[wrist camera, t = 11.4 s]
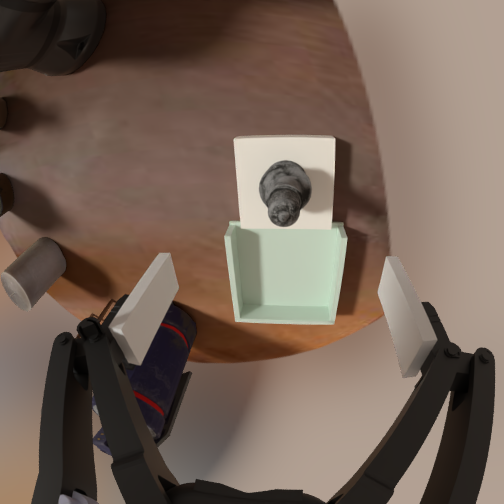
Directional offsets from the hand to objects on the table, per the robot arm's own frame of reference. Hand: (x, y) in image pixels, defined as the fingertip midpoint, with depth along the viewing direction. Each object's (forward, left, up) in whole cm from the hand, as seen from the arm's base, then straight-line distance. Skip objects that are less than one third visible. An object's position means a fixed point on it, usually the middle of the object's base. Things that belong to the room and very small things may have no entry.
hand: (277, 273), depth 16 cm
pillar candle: (+14, -50, -22) cm, 56 cm away
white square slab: (+1, 0, -22) cm, 22 cm away
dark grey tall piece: (0, 0, -20) cm, 20 cm away
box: (+15, 0, -22) cm, 26 cm away
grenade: (+29, -22, -22) cm, 42 cm away
